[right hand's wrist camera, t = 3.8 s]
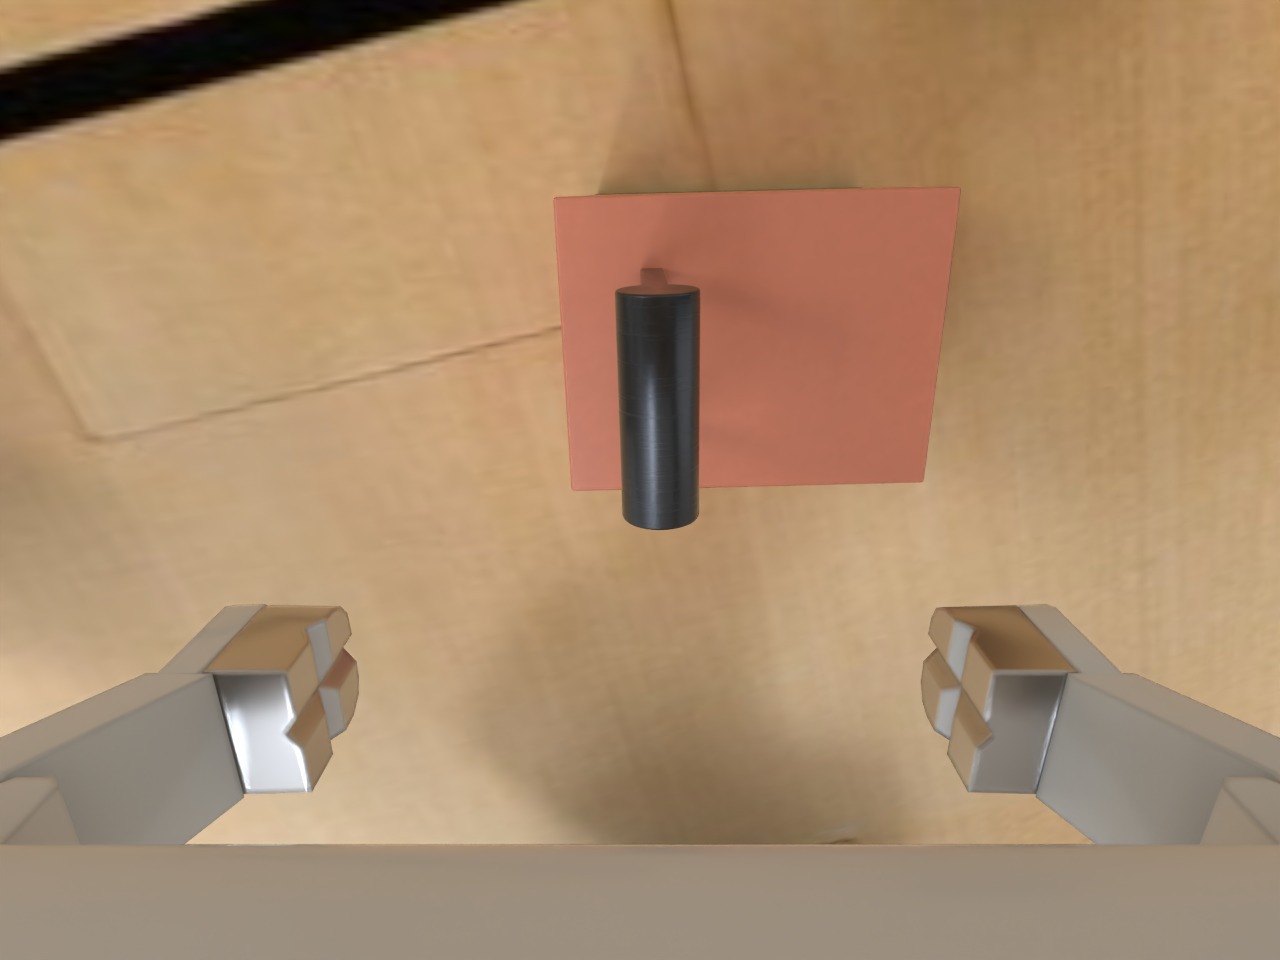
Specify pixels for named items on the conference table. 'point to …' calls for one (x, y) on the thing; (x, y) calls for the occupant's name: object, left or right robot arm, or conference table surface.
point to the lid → (750, 339)
